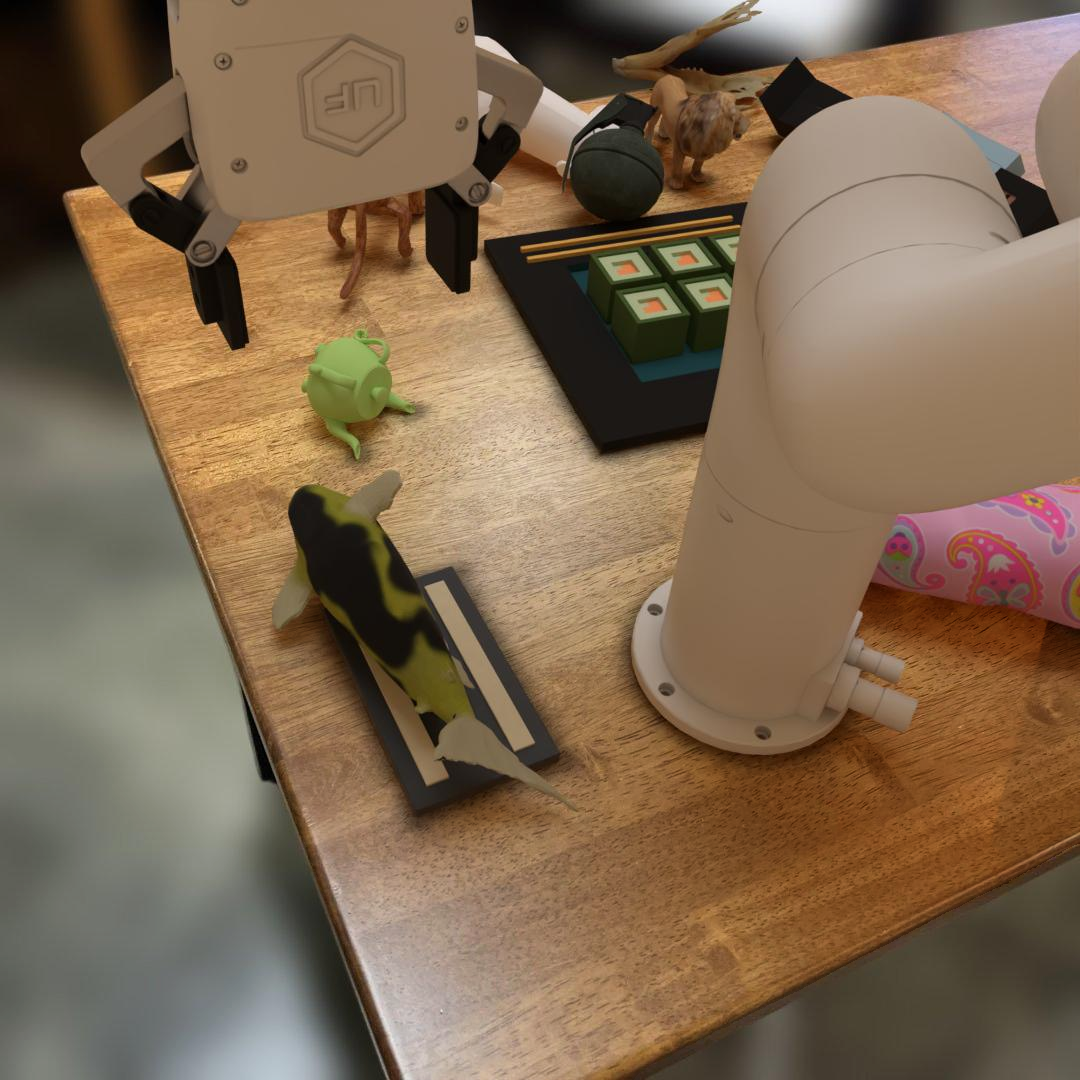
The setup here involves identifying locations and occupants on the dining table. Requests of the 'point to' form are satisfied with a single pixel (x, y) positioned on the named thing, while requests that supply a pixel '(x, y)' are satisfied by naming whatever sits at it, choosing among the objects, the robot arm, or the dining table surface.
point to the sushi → (630, 316)
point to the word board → (418, 734)
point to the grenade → (616, 163)
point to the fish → (387, 615)
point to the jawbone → (695, 81)
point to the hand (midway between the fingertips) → (342, 302)
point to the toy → (1029, 203)
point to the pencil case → (994, 553)
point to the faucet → (542, 124)
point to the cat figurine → (372, 207)
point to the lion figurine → (694, 125)
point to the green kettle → (351, 384)
